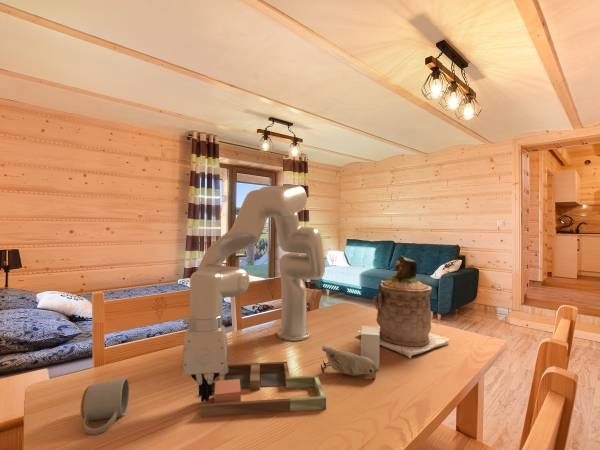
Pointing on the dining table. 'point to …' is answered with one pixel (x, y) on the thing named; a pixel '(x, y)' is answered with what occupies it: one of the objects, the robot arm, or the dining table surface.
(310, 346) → the dining table surface
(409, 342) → the cookie jar
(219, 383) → the block
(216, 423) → the dining table surface
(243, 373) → the trap run
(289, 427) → the dining table surface
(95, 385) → the ceramic mug
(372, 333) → the small box
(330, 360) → the decorative bird
